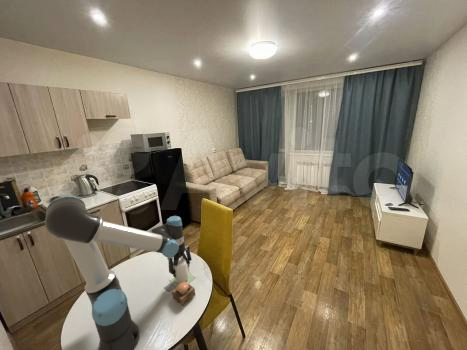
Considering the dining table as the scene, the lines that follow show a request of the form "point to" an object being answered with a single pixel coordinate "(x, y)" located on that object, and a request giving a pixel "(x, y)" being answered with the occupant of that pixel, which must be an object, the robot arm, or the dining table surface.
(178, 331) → the dining table surface
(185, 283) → the plunger
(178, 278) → the beverage can
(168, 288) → the pad
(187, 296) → the housing
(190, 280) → the pad
